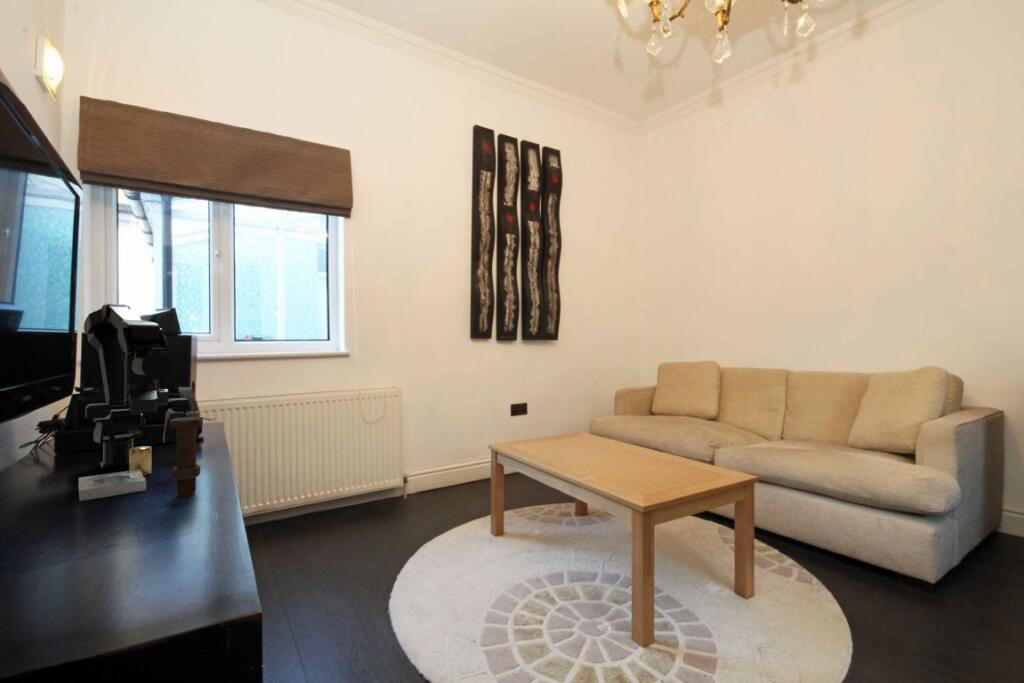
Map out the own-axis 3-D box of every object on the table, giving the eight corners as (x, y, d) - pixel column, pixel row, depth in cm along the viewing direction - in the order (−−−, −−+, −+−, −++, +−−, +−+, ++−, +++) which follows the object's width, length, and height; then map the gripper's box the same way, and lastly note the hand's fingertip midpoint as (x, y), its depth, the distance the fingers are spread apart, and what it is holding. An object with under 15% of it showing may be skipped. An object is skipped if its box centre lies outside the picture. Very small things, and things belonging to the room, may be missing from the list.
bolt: (209, 491, 96) (209, 416, 96) (190, 499, 91) (190, 420, 91) (182, 490, 97) (183, 416, 97) (162, 498, 92) (162, 420, 92)
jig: (78, 487, 99) (78, 477, 99) (139, 478, 106) (139, 469, 106) (79, 501, 90) (79, 490, 90) (145, 490, 97) (146, 480, 97)
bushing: (128, 474, 109) (128, 448, 109) (150, 471, 112) (150, 445, 112) (130, 477, 106) (130, 450, 106) (152, 474, 109) (152, 448, 109)
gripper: (87, 381, 97) (86, 458, 97) (195, 377, 110) (195, 445, 110) (85, 378, 105) (85, 449, 105) (187, 375, 118) (186, 438, 118)
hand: (140, 445), depth 109 cm, fingers open, 9 cm apart
